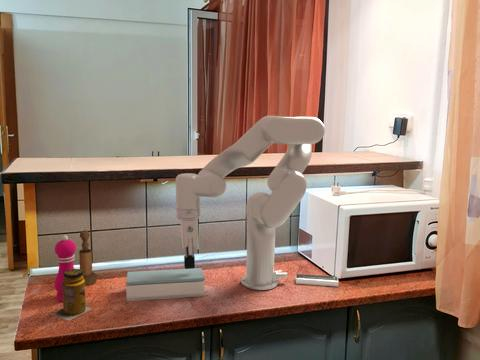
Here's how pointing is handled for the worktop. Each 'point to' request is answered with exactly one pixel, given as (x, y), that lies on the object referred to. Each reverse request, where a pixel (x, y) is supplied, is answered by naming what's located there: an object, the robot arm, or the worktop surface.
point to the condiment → (72, 295)
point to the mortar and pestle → (86, 260)
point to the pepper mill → (63, 262)
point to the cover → (164, 276)
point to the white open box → (165, 290)
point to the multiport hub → (316, 280)
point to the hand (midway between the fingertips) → (189, 267)
